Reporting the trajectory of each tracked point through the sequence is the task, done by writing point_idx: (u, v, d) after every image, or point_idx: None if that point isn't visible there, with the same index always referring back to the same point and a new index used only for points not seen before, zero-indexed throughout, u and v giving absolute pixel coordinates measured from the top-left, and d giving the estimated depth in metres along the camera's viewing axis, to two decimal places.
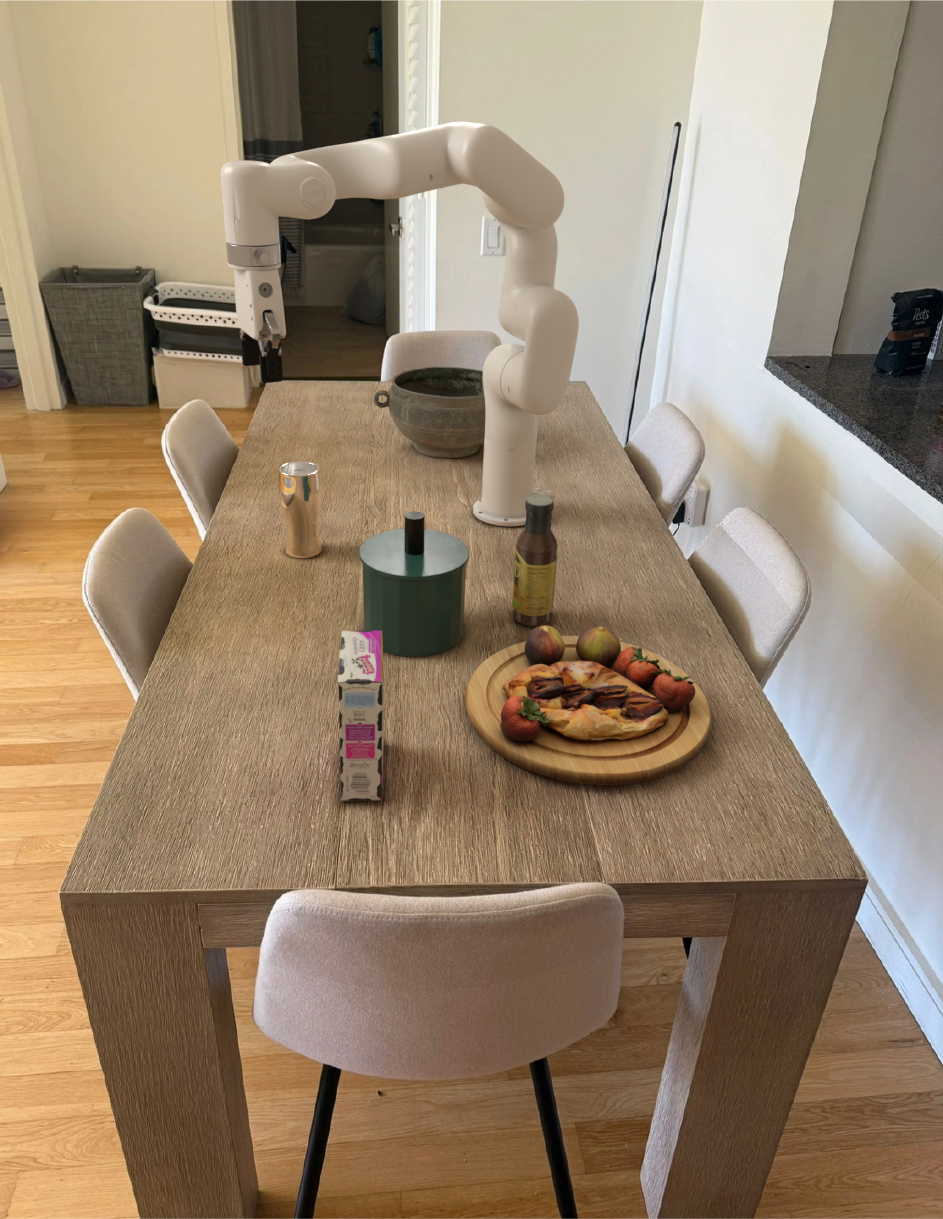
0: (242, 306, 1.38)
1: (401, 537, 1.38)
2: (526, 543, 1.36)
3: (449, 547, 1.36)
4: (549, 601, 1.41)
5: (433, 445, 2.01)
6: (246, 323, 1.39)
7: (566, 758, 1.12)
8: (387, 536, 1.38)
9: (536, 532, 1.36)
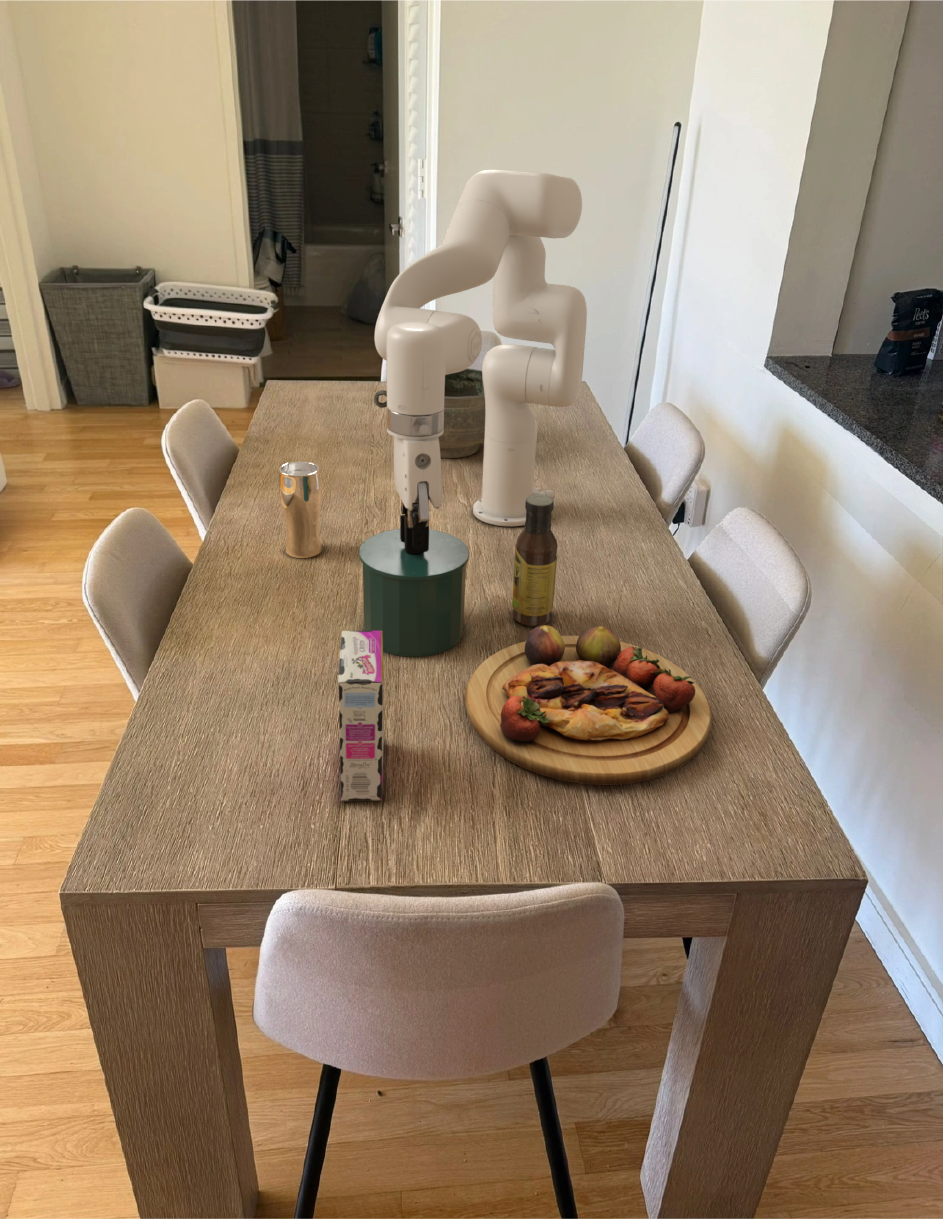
0: (398, 472, 1.27)
1: None
2: (526, 543, 1.36)
3: (449, 547, 1.36)
4: (549, 601, 1.41)
5: None
6: (400, 490, 1.27)
7: (566, 758, 1.12)
8: (387, 536, 1.38)
9: (536, 532, 1.36)
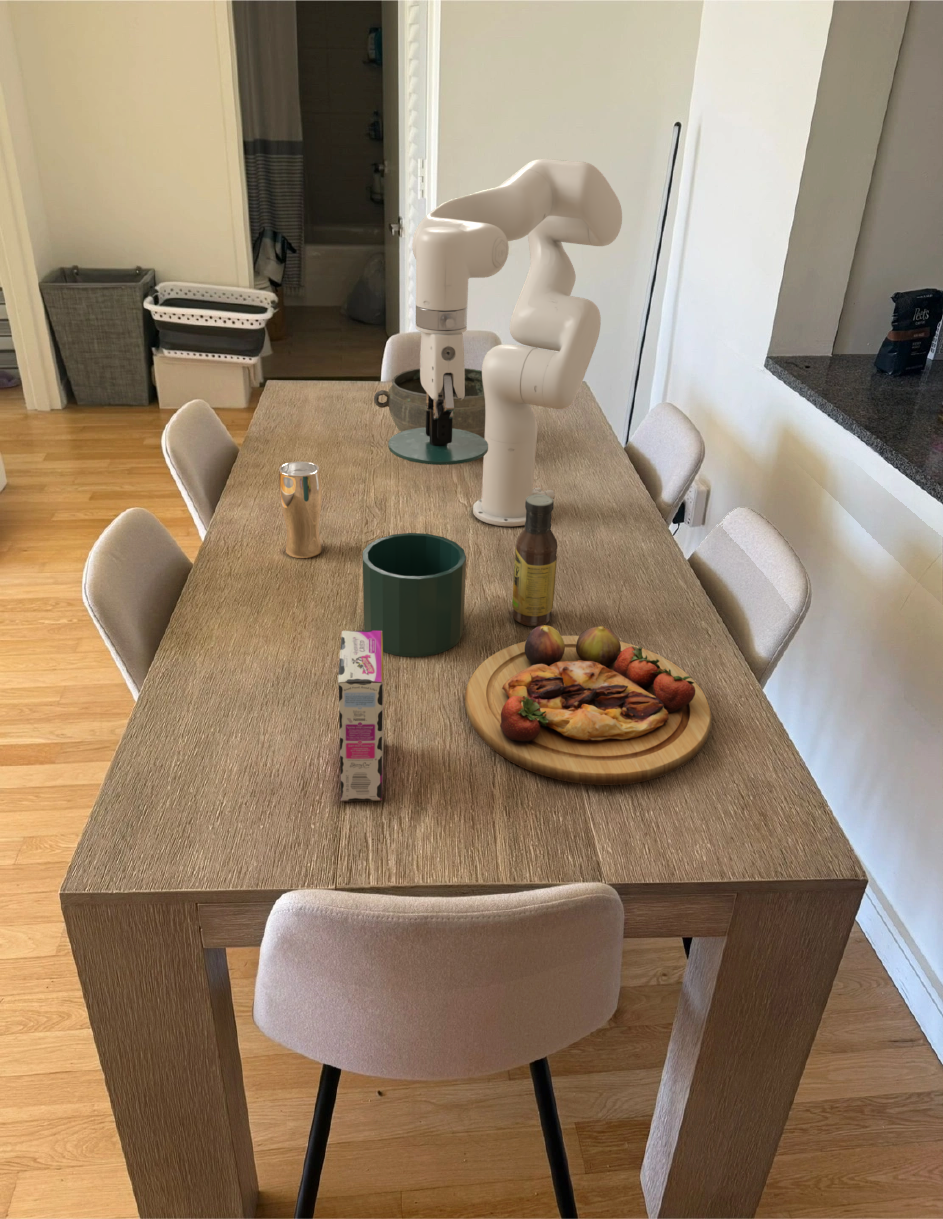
0: (425, 367, 1.40)
1: None
2: (526, 543, 1.36)
3: (470, 441, 1.49)
4: (549, 601, 1.41)
5: None
6: (427, 383, 1.41)
7: (566, 758, 1.12)
8: (413, 433, 1.51)
9: (536, 532, 1.36)
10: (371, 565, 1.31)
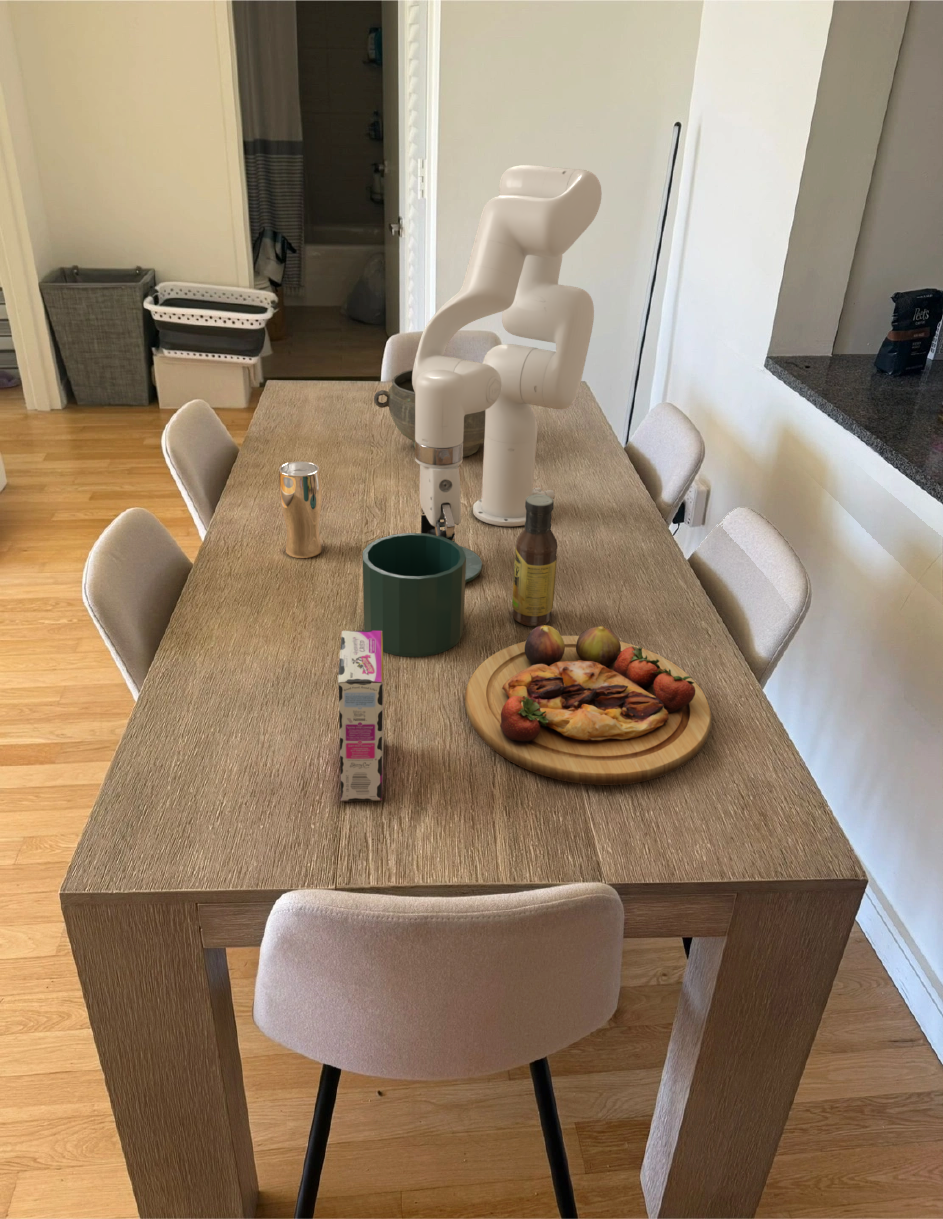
0: (424, 494, 1.51)
1: None
2: (526, 543, 1.36)
3: None
4: (549, 601, 1.41)
5: None
6: (426, 509, 1.51)
7: (566, 758, 1.12)
8: None
9: (536, 532, 1.36)
10: (371, 565, 1.31)
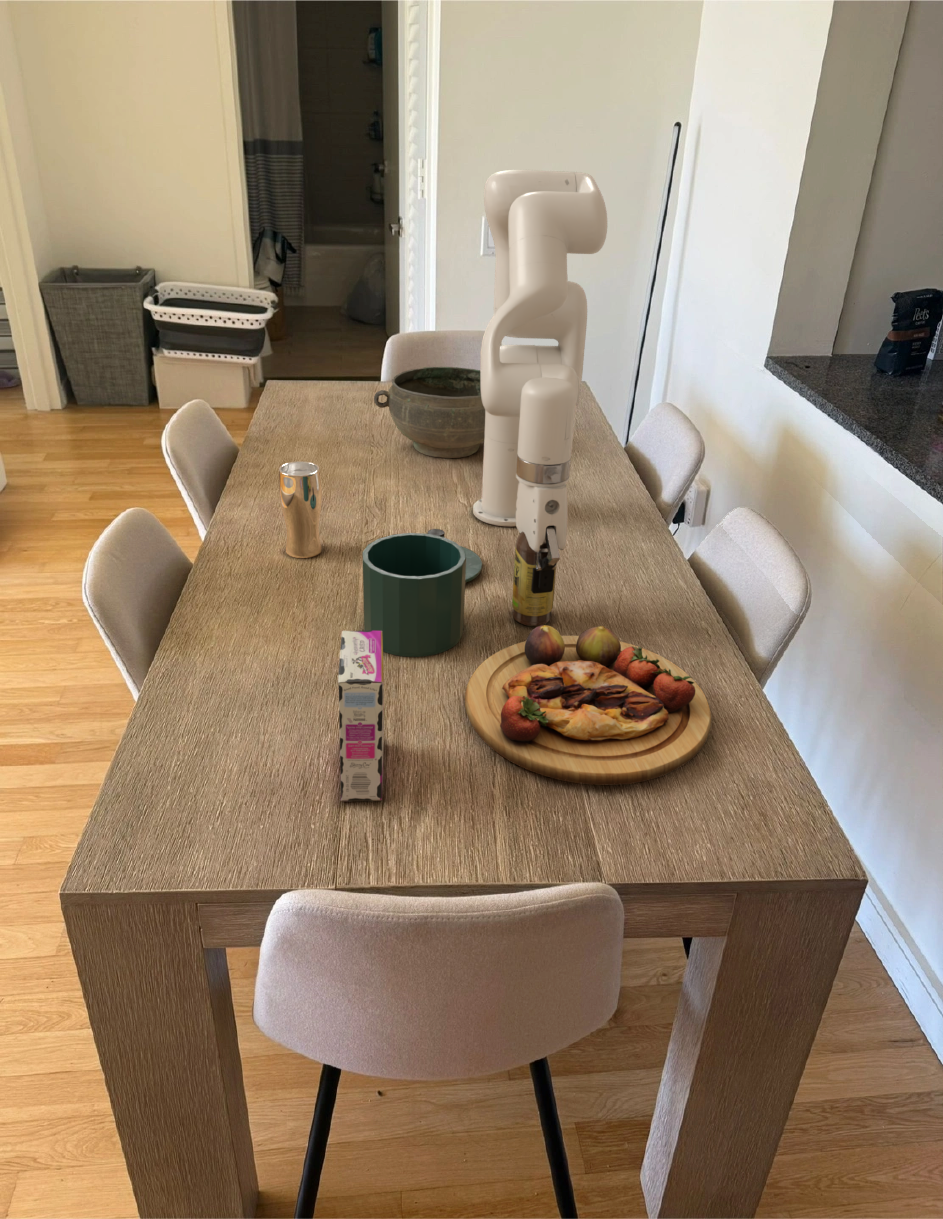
0: (524, 516, 1.35)
1: None
2: (526, 543, 1.36)
3: None
4: (549, 601, 1.41)
5: (433, 445, 2.01)
6: (526, 532, 1.36)
7: (566, 758, 1.12)
8: None
9: None
10: (371, 565, 1.31)
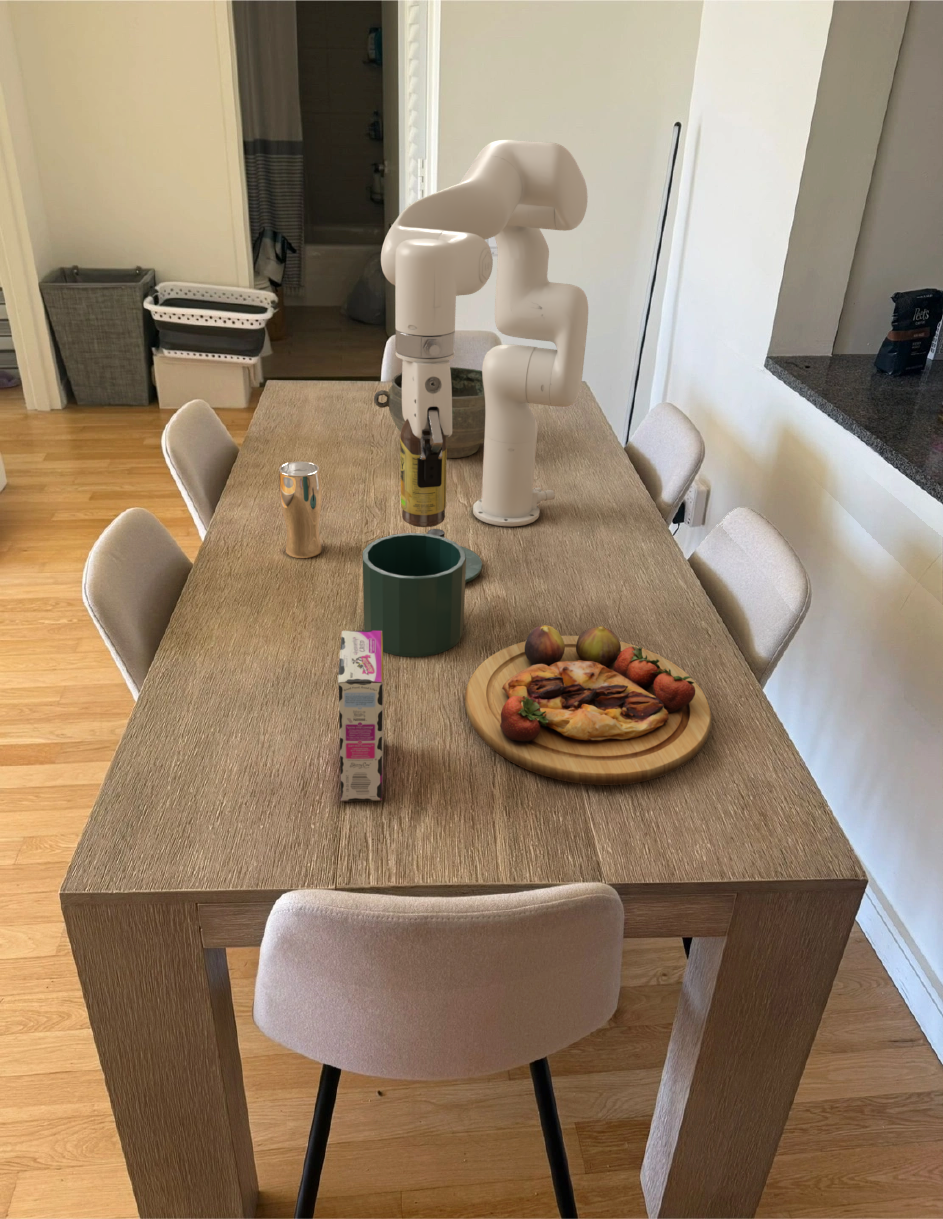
0: (407, 399, 1.22)
1: None
2: (410, 430, 1.23)
3: None
4: (439, 498, 1.28)
5: None
6: (409, 418, 1.23)
7: (566, 758, 1.12)
8: None
9: None
10: (371, 565, 1.31)
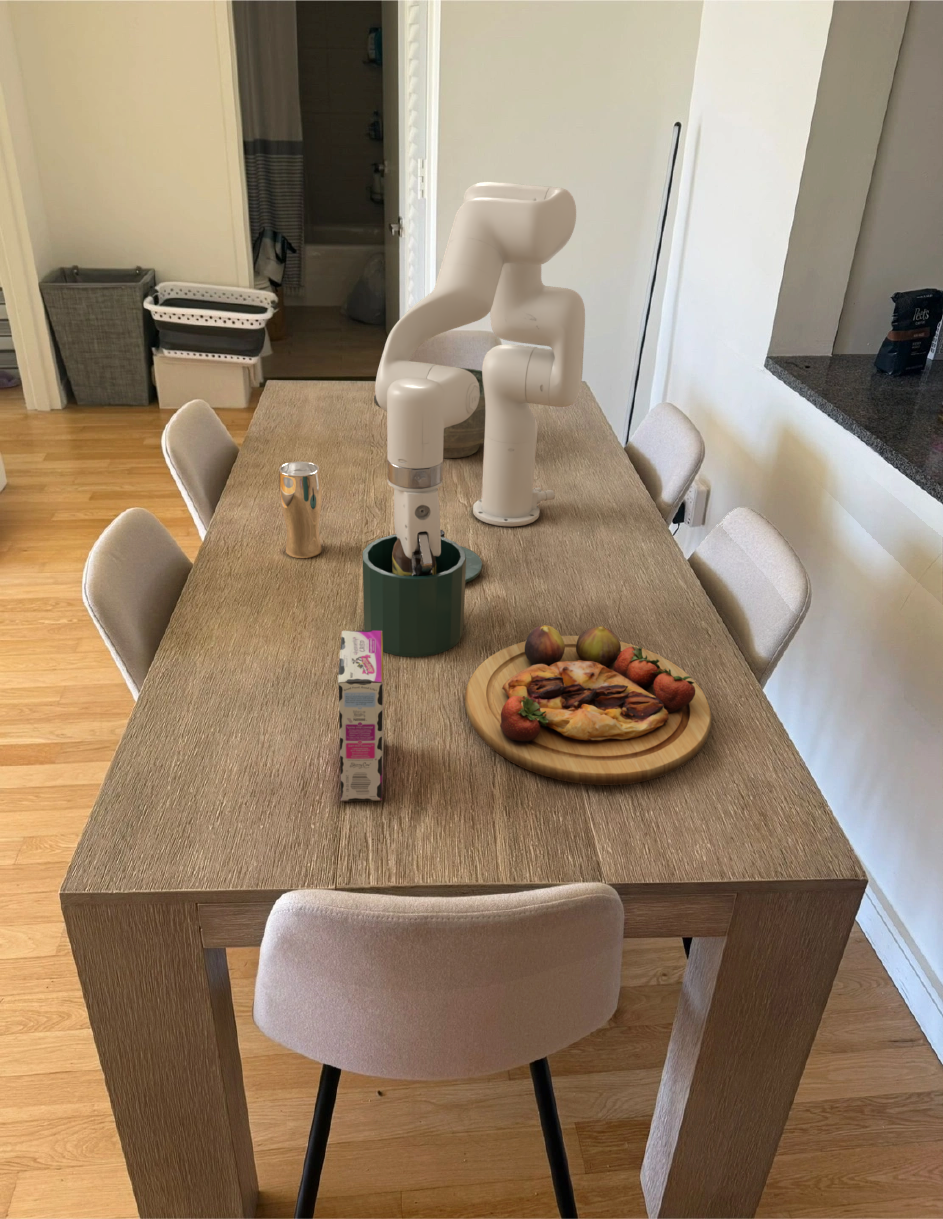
0: (398, 521, 1.31)
1: None
2: (401, 550, 1.32)
3: None
4: None
5: None
6: (401, 538, 1.31)
7: (566, 758, 1.12)
8: None
9: None
10: (371, 565, 1.31)
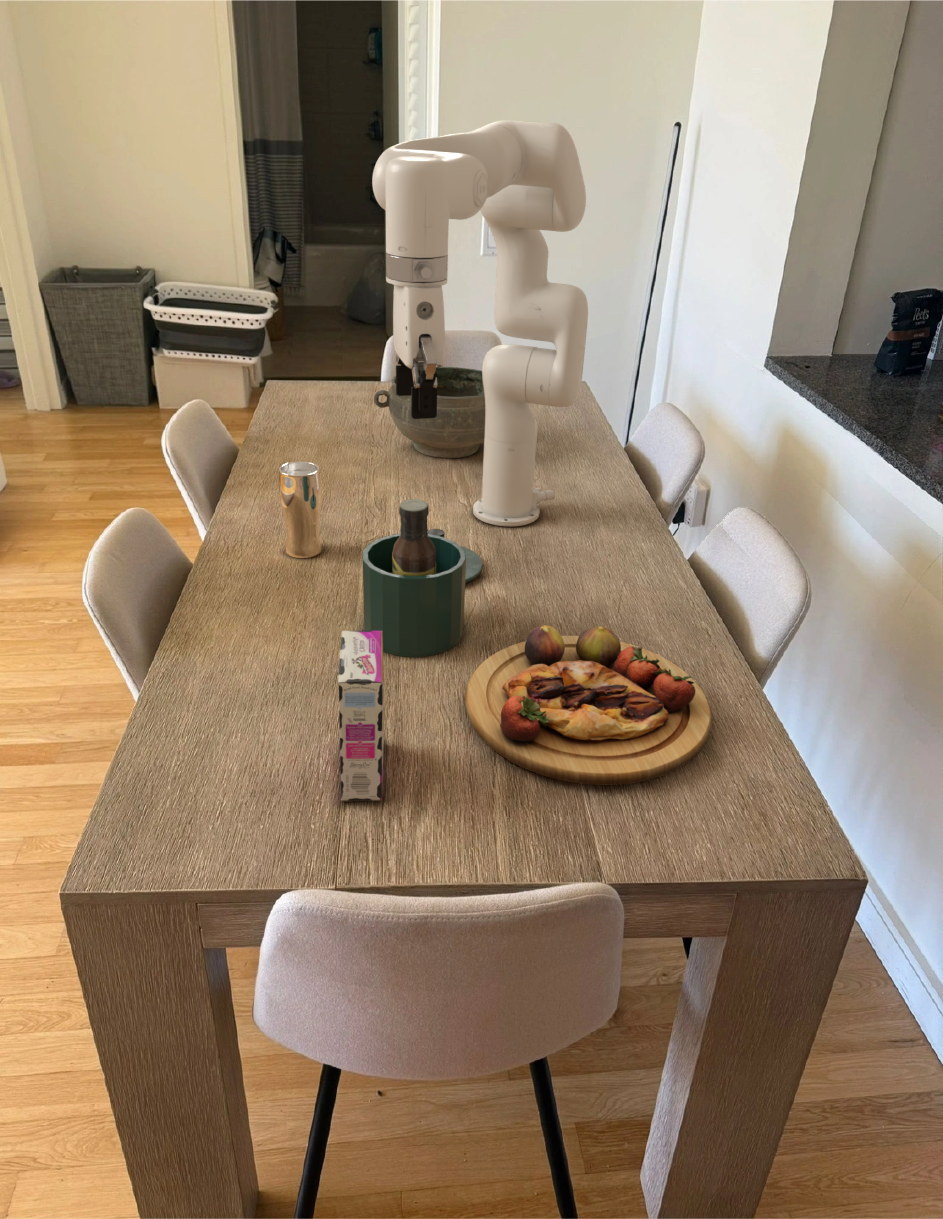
0: (398, 328, 1.18)
1: None
2: (401, 550, 1.32)
3: None
4: None
5: (433, 445, 2.01)
6: (401, 348, 1.18)
7: (566, 758, 1.12)
8: None
9: (411, 538, 1.31)
10: (371, 565, 1.31)
